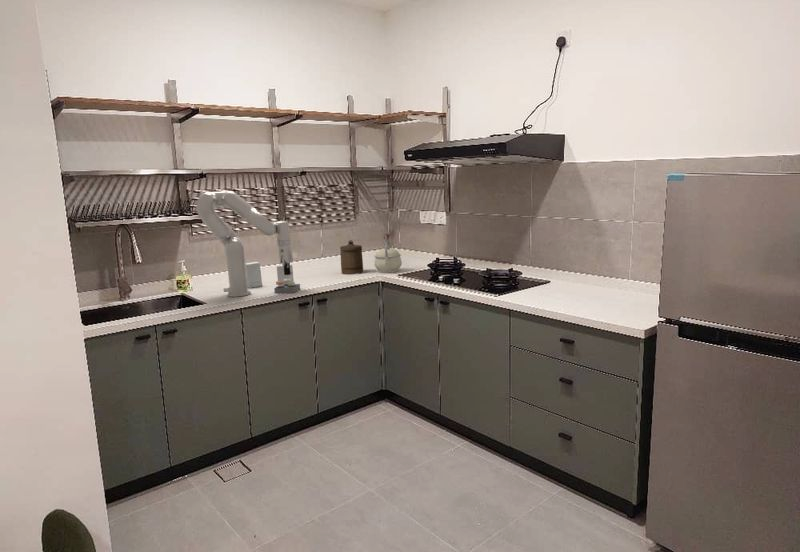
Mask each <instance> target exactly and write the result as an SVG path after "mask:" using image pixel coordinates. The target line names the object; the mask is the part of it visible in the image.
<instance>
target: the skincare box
mask: <svg viewBox="0 0 800 552" xmlns="http://www.w3.org/2000/svg"><path fill="white" fill-rule="evenodd" d="M245 268H246V278H247V288H248V289H253V288H252V287H254V288H258V287H259V288H260V287H262V286H263V280H262V279H263V277H262V272H261V263H260V262H258V261H253V262H247V263H246V262H245Z"/></svg>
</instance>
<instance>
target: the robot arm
mask: <svg viewBox="0 0 800 552" xmlns="http://www.w3.org/2000/svg"><path fill="white" fill-rule="evenodd" d="M223 207H224V208H225V207H227V208H228V209H230V210H232V211H233V212H234V213H235V214H236V215H238V216H239V217H241V218H242V219H243V220H244V221H246V222H247V223H249V224H250V225H252V226H253V227H254V228H255V229H257V230H258V231H259V232H261V233H262V234H263V235H265V236H267V237H271V236H274V235H276V241H277V242H276V243H277V247H278V256H279V263H280V264H281V265H282V266H283V268H284V275H290V274H291V273H290V264H291V262H293V261H294V258H293V257H294V256H293V251H292V241H291V240H292V239H291V234H290V223H289V221H287V220H281V221H270V220H269V219H267V218H266V217H265V216H263V215H262V214H261V213H260V212H259V211H258V210H257V209H256V207H254V206H252V205H251V204H250V203H249V202H247V200H245V199H244V198H243V197H242V196H240V195H239V194H237V193H236V192H235V191H233V190H226V191H206V192H203V193H201V194H200V195H199V197H198V199H197V201H196V212H197V214H198V216H199V218H200V219H201V221H202V222H203V223H204V224H205V226H206V227H207V229H208V230H209V231H210V232H211V234H212V235H213V236H214V238H216V239H217V240H218V241H219V242H220V243H221V244H222V245H223V246H224V248H225V256H226V257H225V258H226V267H227V274H228V283H229V286H228V288H226V287H224V288H223V292H225V293H226V292H227V297H230V298H231V297H232V298H233V297H235V298H237V297H239V298H240V297H244V296H249V295H251V293H252V291H251V290H248V289H249V287H247V278H246V268H245V264H246V259H245V248H244V246H245V245H244V241H242V239H241V238H240V237H239V236H238V234H237V233H236V232H235V231H234V230H233V228H232V227H231V225H229V224H228V223H226V222H225V221H224V220H223V219H222V218H221V217H220V216H219V214H218V213H217V212H216V210H215V208H223Z"/></svg>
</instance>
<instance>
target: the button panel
mask: <svg viewBox="0 0 800 552" xmlns="http://www.w3.org/2000/svg"><path fill="white" fill-rule="evenodd" d="M273 290H274V294H275V293H278V294H294V293H296V292H298V291H299V290H301V284H300V283H295V285H294V286H288V284H282V285H280V286H278V285H276V286H275V287H274V289H273Z"/></svg>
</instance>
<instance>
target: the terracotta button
mask: <svg viewBox="0 0 800 552" xmlns="http://www.w3.org/2000/svg"><path fill="white" fill-rule="evenodd" d="M282 284H283V281H278V280H277V281H275V285H276V286H278V285H282Z"/></svg>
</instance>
